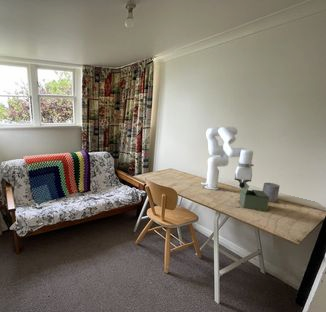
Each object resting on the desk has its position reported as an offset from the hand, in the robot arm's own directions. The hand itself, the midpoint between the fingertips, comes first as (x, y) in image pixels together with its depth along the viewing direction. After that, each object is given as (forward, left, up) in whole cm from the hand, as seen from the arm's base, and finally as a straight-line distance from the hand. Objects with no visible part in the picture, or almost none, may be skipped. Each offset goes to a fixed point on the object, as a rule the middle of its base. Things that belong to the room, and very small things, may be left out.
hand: (241, 187), depth 150 cm
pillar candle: (+24, +19, -14) cm, 34 cm away
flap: (+2, 0, 0) cm, 2 cm away
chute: (+8, 0, -14) cm, 16 cm away
